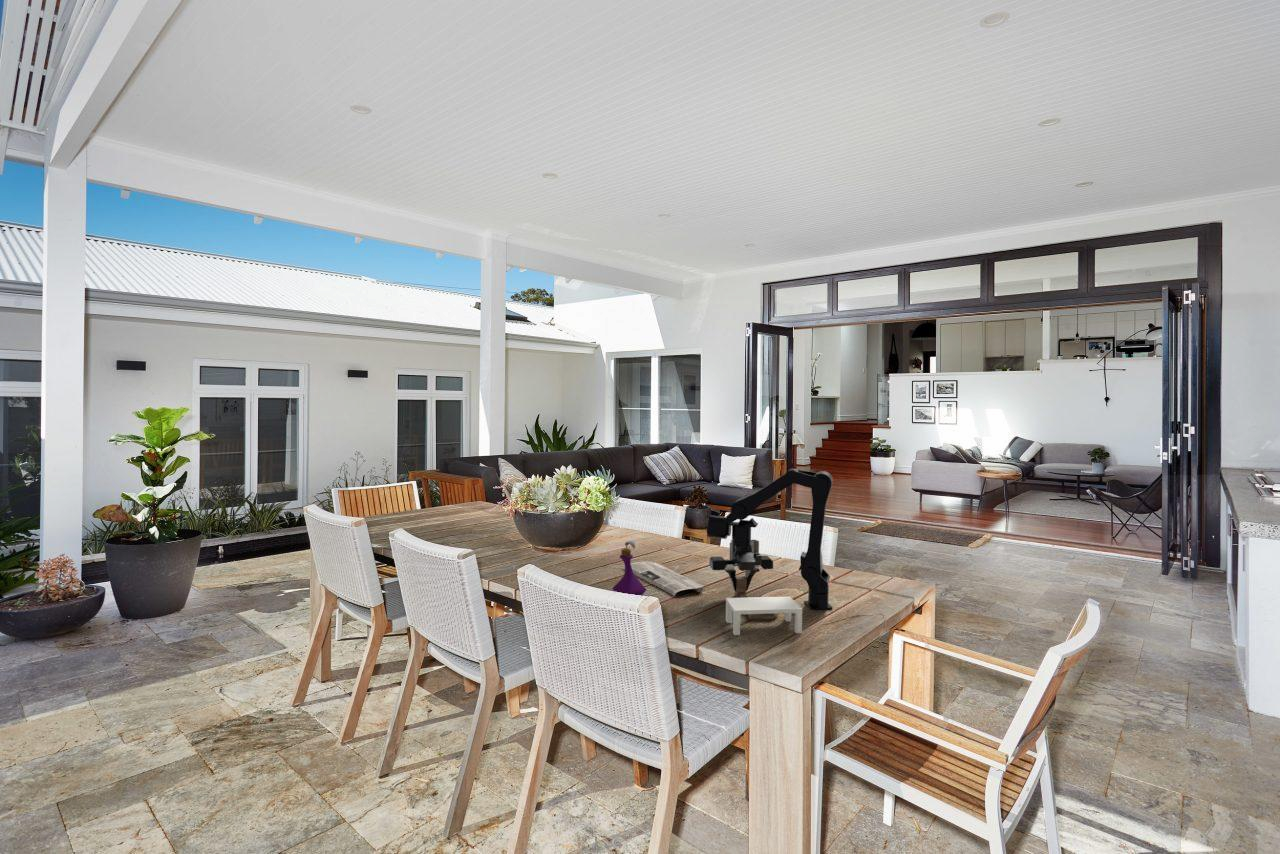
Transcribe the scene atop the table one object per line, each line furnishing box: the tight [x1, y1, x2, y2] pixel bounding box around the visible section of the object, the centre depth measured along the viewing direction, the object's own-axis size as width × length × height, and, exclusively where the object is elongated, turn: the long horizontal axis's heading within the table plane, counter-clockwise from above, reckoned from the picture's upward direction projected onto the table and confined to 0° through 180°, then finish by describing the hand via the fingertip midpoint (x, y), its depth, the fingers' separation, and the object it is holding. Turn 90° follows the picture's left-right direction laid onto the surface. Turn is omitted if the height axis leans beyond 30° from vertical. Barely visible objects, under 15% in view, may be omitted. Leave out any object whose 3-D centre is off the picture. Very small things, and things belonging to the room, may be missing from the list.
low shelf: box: [725, 596, 803, 636], centre depth 173 cm, size 10×18×6 cm, turn 95°
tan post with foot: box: [734, 575, 775, 620], centre depth 189 cm, size 20×7×6 cm, turn 1°
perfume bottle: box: [611, 540, 647, 596], centre depth 195 cm, size 8×8×18 cm
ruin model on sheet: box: [729, 539, 760, 560], centre depth 239 cm, size 11×3×10 cm, turn 117°
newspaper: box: [623, 561, 707, 597], centre depth 215 cm, size 35×12×4 cm, turn 29°
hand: (740, 590), depth 198 cm, fingers closed on tan post with foot, 3 cm apart
